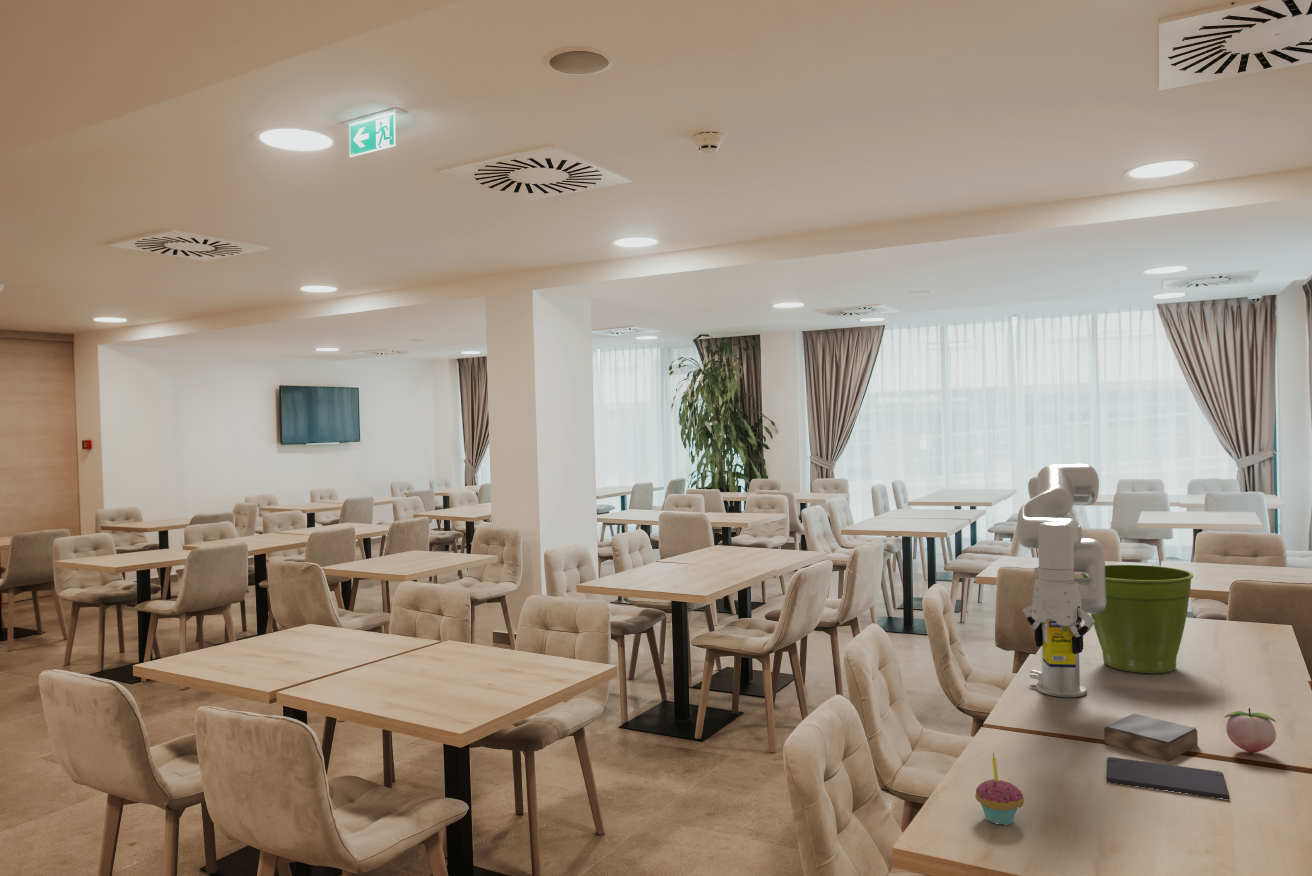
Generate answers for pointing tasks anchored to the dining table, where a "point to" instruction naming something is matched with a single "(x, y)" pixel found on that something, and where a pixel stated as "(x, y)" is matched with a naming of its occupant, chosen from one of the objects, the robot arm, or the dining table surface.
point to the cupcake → (999, 798)
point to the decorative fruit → (1250, 730)
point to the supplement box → (1057, 645)
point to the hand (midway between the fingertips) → (1058, 648)
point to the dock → (1151, 736)
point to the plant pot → (1143, 617)
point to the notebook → (1167, 777)
